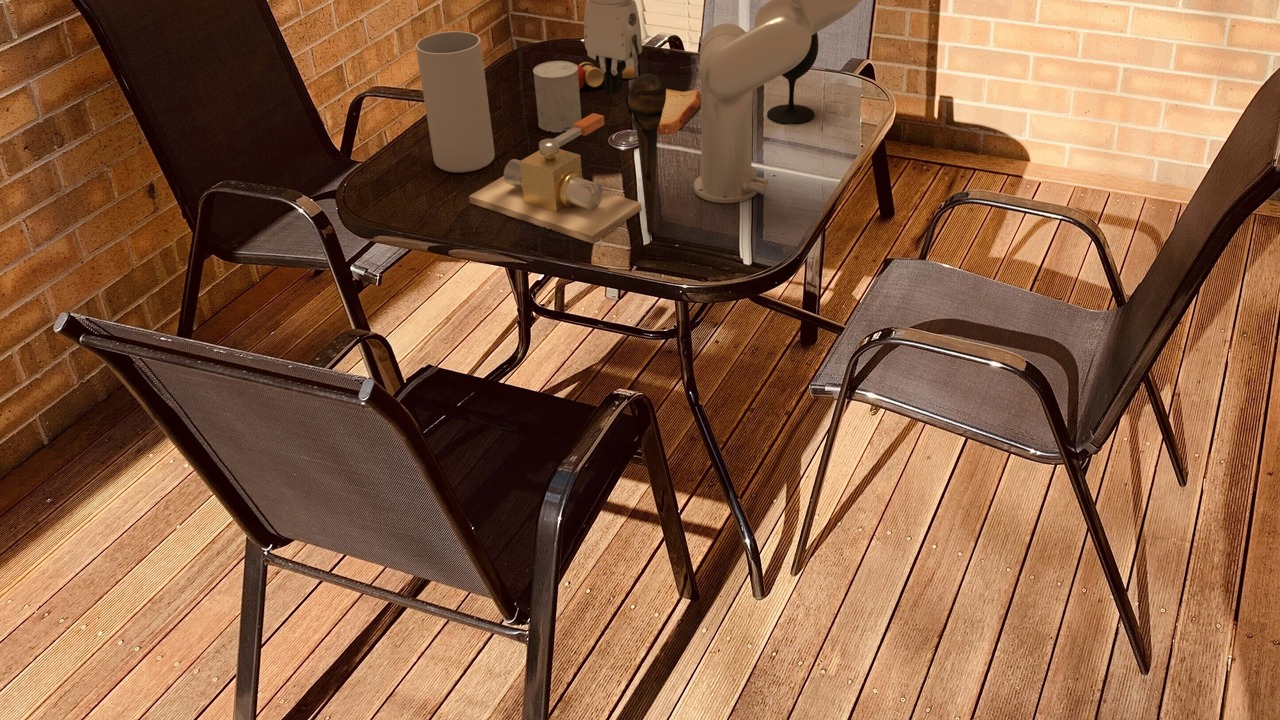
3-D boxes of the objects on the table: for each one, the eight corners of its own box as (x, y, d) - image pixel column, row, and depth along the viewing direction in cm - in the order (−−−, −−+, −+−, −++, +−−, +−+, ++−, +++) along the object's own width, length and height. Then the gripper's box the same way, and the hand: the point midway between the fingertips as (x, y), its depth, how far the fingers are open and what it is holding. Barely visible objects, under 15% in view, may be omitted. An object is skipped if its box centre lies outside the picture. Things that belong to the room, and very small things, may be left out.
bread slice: (660, 138, 240) (659, 122, 238) (618, 111, 253) (617, 95, 251) (731, 118, 247) (731, 102, 245) (686, 92, 260) (686, 77, 258)
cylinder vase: (461, 179, 227) (443, 58, 213) (422, 163, 234) (402, 45, 220) (507, 158, 235) (493, 39, 220) (468, 142, 242) (451, 27, 227)
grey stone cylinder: (576, 133, 244) (571, 78, 237) (533, 131, 245) (527, 76, 238) (586, 115, 251) (582, 61, 244) (544, 113, 253) (539, 60, 246)
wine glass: (824, 116, 245) (830, 25, 234) (788, 129, 241) (791, 36, 229) (793, 102, 252) (796, 12, 241) (756, 114, 248) (758, 23, 236)
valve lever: (550, 157, 208) (549, 148, 207) (535, 153, 209) (534, 144, 208) (606, 125, 219) (605, 116, 217) (591, 121, 220) (591, 112, 219)
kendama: (624, 77, 273) (554, 80, 266) (628, 52, 269) (557, 56, 262) (636, 93, 268) (565, 97, 261) (641, 69, 264) (568, 72, 257)
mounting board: (641, 209, 214) (641, 202, 213) (592, 243, 204) (592, 236, 203) (520, 173, 229) (520, 166, 228) (469, 202, 219) (468, 196, 218)
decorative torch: (631, 226, 208) (623, 69, 191) (668, 223, 209) (663, 65, 192) (634, 244, 203) (626, 84, 186) (672, 241, 203) (668, 80, 186)
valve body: (608, 203, 213) (605, 157, 207) (582, 221, 208) (578, 173, 202) (527, 179, 223) (522, 134, 217) (500, 195, 218) (494, 149, 212)
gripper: (657, -7, 197) (659, 94, 208) (589, -20, 205) (594, 78, 215) (631, 5, 192) (634, 108, 203) (562, -9, 200) (569, 91, 210)
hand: (614, 92), depth 209 cm, fingers closed
